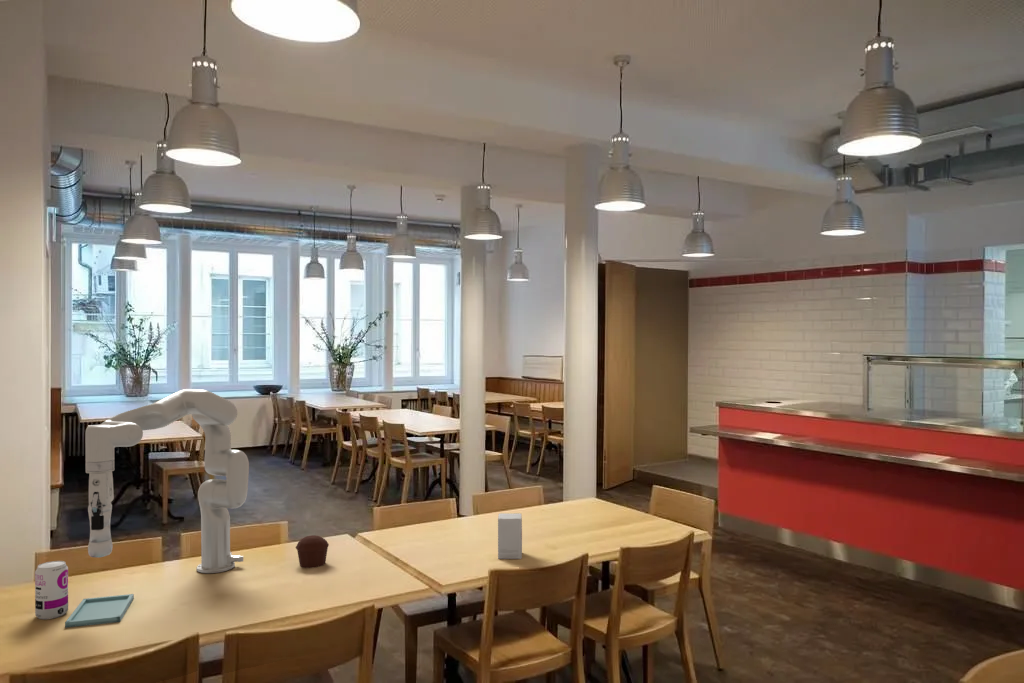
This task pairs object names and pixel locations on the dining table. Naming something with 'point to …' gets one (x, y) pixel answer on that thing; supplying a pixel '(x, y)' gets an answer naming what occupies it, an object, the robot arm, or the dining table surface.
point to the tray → (100, 610)
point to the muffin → (312, 551)
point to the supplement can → (51, 590)
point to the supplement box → (510, 536)
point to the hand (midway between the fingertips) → (100, 526)
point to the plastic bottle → (101, 535)
